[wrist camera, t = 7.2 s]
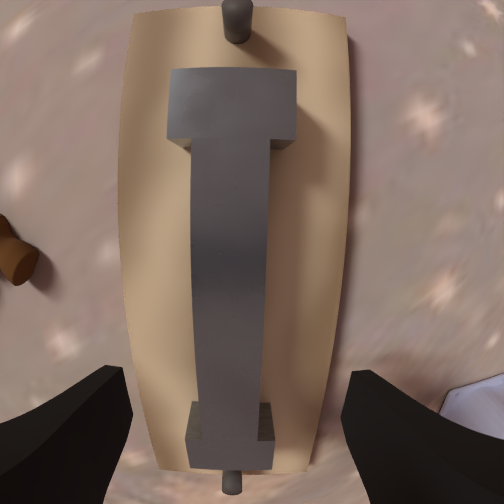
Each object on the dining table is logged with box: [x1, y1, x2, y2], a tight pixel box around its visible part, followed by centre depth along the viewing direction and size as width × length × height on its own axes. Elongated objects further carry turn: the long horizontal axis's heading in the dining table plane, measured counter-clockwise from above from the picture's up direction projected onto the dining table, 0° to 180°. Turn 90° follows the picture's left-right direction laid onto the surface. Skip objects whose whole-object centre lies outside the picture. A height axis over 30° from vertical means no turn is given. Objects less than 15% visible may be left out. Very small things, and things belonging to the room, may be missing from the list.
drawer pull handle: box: [166, 67, 297, 471], centre depth 14 cm, size 5×21×4 cm, turn 179°
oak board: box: [118, 0, 351, 495], centre depth 15 cm, size 12×32×4 cm, turn 178°
